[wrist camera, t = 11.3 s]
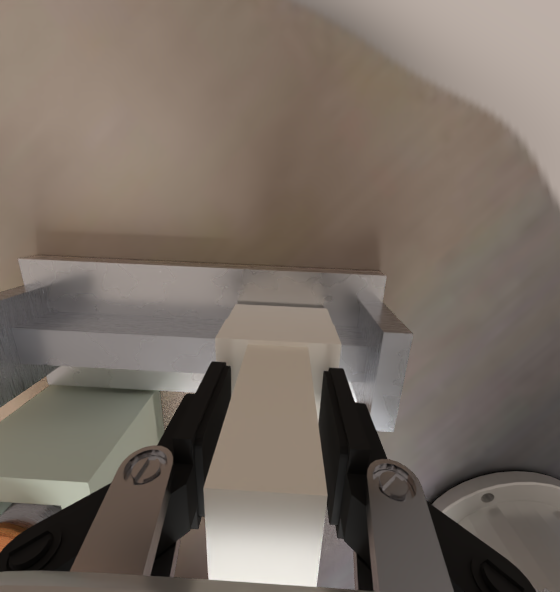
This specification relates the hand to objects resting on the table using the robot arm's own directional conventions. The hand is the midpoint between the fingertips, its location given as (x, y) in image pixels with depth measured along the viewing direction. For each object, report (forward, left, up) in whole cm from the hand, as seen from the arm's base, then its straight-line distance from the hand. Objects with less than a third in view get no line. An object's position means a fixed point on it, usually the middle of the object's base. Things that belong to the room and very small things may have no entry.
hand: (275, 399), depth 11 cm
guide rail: (+5, 0, -7) cm, 8 cm away
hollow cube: (+12, +8, -7) cm, 15 cm away
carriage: (0, 0, -5) cm, 5 cm away
